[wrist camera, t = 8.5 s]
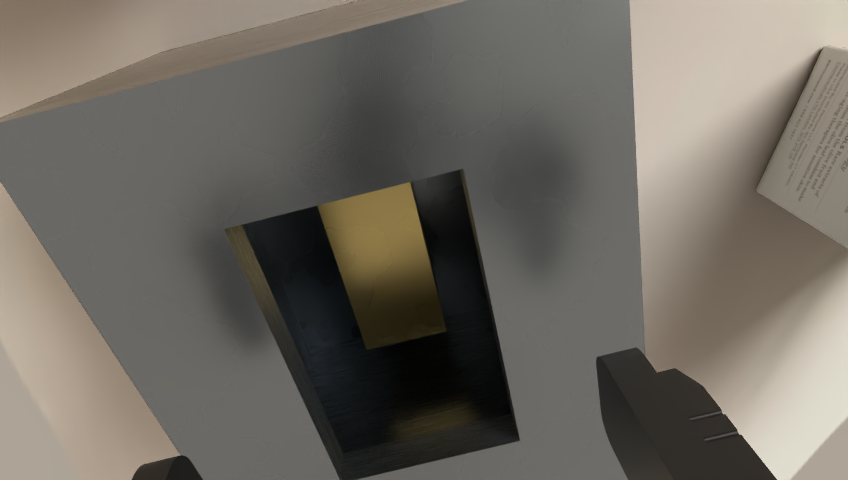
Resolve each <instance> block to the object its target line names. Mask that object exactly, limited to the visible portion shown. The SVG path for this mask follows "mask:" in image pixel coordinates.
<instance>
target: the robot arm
mask: <svg viewBox="0 0 848 480" xmlns="http://www.w3.org/2000/svg"><path fill="white" fill-rule="evenodd" d="M596 369H597V378H598V388H599V398H600V408H601V416H602V421H603V424H604V428H605V431H606V434H607V437H608V440H609V442H610V444H611V447H612V449H613V451H614V453H615V455H616V457H617V459H618V461H619V463H620V465H621V467H622V469H623V471H624V473H625V475H626V477H627V479H628V480H777V479H776V478H775V477H774V475H773V474H772V473H771V472H770V470H769V469H768V468H767V467H766V465H765V464H764V463H763V462H762V460H761V459H760V458H759V456H758V455H757V454H756V453H755V451H754V450H753V449H752V448H751V446H750V445H749V444H748V443H747V441H746V440H745V439H744V438H743V436H742V435H739V434H738V431H737V429H736V427H735V426H734V425H733V424H732V422H731V421H730V420H729V419H728V417H727V416H726V415H723V413H722V411H721V409H720V407H719V406H718V405H717V404H716V402H715V401H714V400H713V398H712V397H711V396H710V395H709V393H708V392H707V391H706V390H705V388H704V387H703V386H702V385H700V384H699V383H697V382H696V381H694V380H693V379H691V378H689V377H688V376H686V375H685V374H683V373H682V372H680V371H679V370H677V369H671V370H666V371H662V372H658V373H657V372H656V371H655V370H654V368H653V367H652V365H651V364H650V362H649V361H648V360H647V358H646V357H645V355H644V354H643V353H642V351H641V350H640V349H638V348H636V347H635V348H631V349H627V350H623V351H618V352H614V353H610V354H606V355H602V356H598V357H597V358H596ZM132 480H203V479H202V477H201V476H200V474H199V473H198V471H197V470H196V468H195V467H194V465H193V463H192V462H191V461H190V459H189V458H188V457H186V456H183V455H181V456H177V457H172V458H168V459H164V460H160V461H156V462H152V463H148V464H144V465H142V466H140V467H139V468H138V470H137V471H136V472H135V474H134V476H133V478H132Z"/></svg>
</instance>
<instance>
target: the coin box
mask: <svg viewBox="0 0 848 480" xmlns="http://www.w3.org/2000/svg"><path fill="white" fill-rule="evenodd" d="M0 181H1V183H2V184H3V186H4V187H5V189H6V190H7V192H8V193H9V195H10V196H11V198H12V199H13V201H14V203H15V204H16V206H17V207H18V209H19V210H20V212H21V213H22V215H23V216H24V218H25V219H26V221H27V222H28V224H29V225H30V227H31V228H32V230H33V231H34V233H35V234H36V236H37V238H38V239H39V241H40V242H41V244H42V245H43V247H44V248H45V250H46V251H47V253H48V254H49V256H50V257H51V259H52V260H53V262H54V263H55V265H56V266H57V268H58V269H59V271H60V272H61V274H62V276H63V277H64V279H65V280H66V282H67V283H68V285H69V286H70V288H71V289H72V291H73V292H74V294H75V295H76V297H77V298H78V300H79V301H80V303H81V304H82V306H83V307H84V309H85V311H86V312H87V314H88V315H89V317H90V318H91V320H92V321H93V323H94V324H95V326H96V327H97V329H98V330H99V332H100V333H101V335H102V336H103V338H104V339H105V341H106V342H107V344H108V345H109V347H110V349H111V350H112V352H113V353H114V355H115V356H116V358H117V359H118V361H119V362H120V364H121V365H122V367H123V368H124V370H125V371H126V373H127V374H128V376H129V377H130V379H131V380H132V382H133V384H134V385H135V387H136V388H137V390H138V391H139V393H140V394H141V396H142V397H143V399H144V400H145V402H146V403H147V405H148V406H149V408H150V409H151V411H152V412H153V414H154V415H155V417H156V418H157V420H158V422H159V423H160V425H161V426H162V428H163V429H164V431H165V432H166V434H167V435H168V437H169V438H170V440H171V441H172V443H173V444H174V446H175V447H176V449H177V450H178V452H179V453H180V455H183V456H186V457H188V458H189V459H190V461H191V462H192V463H193V465H194V467H195V468H196V470H197V471H198V473H199V474H200V476H201V477H202V479H203V480H628V479H627V477H626V475H625V473H624V471H623V469H622V467H621V465H620V463H619V461H618V459H617V457H616V455H615V453H614V451H613V449H612V447H611V444H610V442H609V440H608V437H607V434H606V431H605V428H604V424H603V421H602V416H601V408H600V398H599V388H598V378H597V369H596V358H597V357H598V356H602V355H606V354H610V353H614V352H618V351H623V350H627V349H631V348H635V347H636V348H638V349H640V350H641V351H642V353H643V354H644V355H645V347H644V325H643V302H642V279H641V257H640V234H639V211H638V188H637V166H636V143H635V120H634V97H633V75H632V52H631V29H630V6H629V0H358V1H355V2H351V3H347V4H343V5H339V6H336V7H332V8H328V9H324V10H320V11H317V12H313V13H309V14H305V15H301V16H298V17H294V18H290V19H286V20H282V21H279V22H275V23H271V24H267V25H263V26H260V27H256V28H252V29H248V30H244V31H241V32H237V33H233V34H229V35H225V36H221V37H218V38H214V39H210V40H206V41H202V42H199V43H195V44H191V45H187V46H183V47H180V48H176V49H172V50H168V51H164V52H161V53H159V54H156V55H154V56H152V57H149V58H147V59H144V60H142V61H139V62H137V63H134V64H132V65H129V66H127V67H124V68H122V69H119V70H117V71H115V72H112V73H110V74H107V75H105V76H102V77H100V78H97V79H95V80H92V81H90V82H87V83H85V84H82V85H80V86H78V87H75V88H73V89H70V90H68V91H65V92H63V93H60V94H58V95H55V96H53V97H50V98H48V99H45V100H43V101H41V102H38V103H36V104H33V105H31V106H28V107H26V108H23V109H21V110H18V111H16V112H13V113H11V114H9V115H6V116H4V117H1V118H0ZM409 182H412V183H413V188H414V192H415V196H416V200H417V204H418V208H419V212H420V216H421V220H422V224H423V228H424V233H425V237H426V241H427V245H428V249H429V253H430V257H431V261H432V265H433V269H434V274H435V278H436V282H437V287H438V291H439V296H440V301H441V306H442V311H443V315H444V320H445V325H446V330H447V331H446V332H441V333H437V334H433V335H428V336H424V337H420V338H415V339H411V340H407V341H402V342H398V343H394V344H389V345H385V346H381V347H376V348H372V349H368V350H367V349H366V346H365V343H364V340H363V338H362V335H361V332H360V329H359V326H358V323H357V320H356V317H355V314H354V311H353V308H352V306H351V303H350V300H349V297H348V294H347V291H346V288H345V285H344V282H343V279H342V276H341V273H340V271H339V268H338V265H337V262H336V259H335V256H334V253H333V250H332V247H331V244H330V241H329V239H328V236H327V233H326V230H325V227H324V224H323V221H322V218H321V215H320V212H319V209H318V205H322V204H326V203H330V202H334V201H338V200H341V199H345V198H349V197H353V196H357V195H361V194H365V193H369V192H373V191H377V190H381V189H385V188H389V187H393V186H397V185H401V184H405V183H409Z"/></svg>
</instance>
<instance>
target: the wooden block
mask: <svg viewBox="0 0 848 480" xmlns="http://www.w3.org/2000/svg"><path fill="white" fill-rule="evenodd" d="M318 209H319V212H320V215H321V218H322V221H323V224H324V227H325V230H326V233H327V236H328V239H329V241H330V244H331V247H332V250H333V253H334V256H335V259H336V262H337V265H338V268H339V271H340V273H341V276H342V279H343V282H344V285H345V288H346V291H347V294H348V297H349V300H350V303H351V306H352V308H353V311H354V314H355V317H356V320H357V323H358V326H359V329H360V332H361V335H362V338H363V340H364V343H365V346H366V349H367V350H368V349H372V348H376V347H381V346H385V345H389V344H394V343H398V342H402V341H407V340H411V339H415V338H420V337H424V336H428V335H433V334H437V333H441V332H446V331H447V330H446V325H445V320H444V315H443V311H442V306H441V301H440V296H439V291H438V287H437V282H436V278H435V274H434V269H433V265H432V261H431V257H430V253H429V249H428V245H427V241H426V237H425V233H424V228H423V224H422V220H421V216H420V212H419V208H418V204H417V200H416V196H415V192H414V188H413V183H412V182H409V183H405V184H401V185H397V186H393V187H389V188H385V189H381V190H377V191H373V192H369V193H365V194H361V195H357V196H353V197H349V198H345V199H341V200H338V201H334V202H330V203H326V204H322V205H318Z"/></svg>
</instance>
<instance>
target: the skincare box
mask: <svg viewBox="0 0 848 480" xmlns="http://www.w3.org/2000/svg"><path fill="white" fill-rule="evenodd" d="M756 191H757V193H759V194H761V195H763V196H764V197H766V198H767V199H769V200H771V201H772V202H774V203H775V204H777V205H779V206H780V207H782V208H784V209H785V210H787V211H788V212H790V213H791V214H793V215H794V216H796V217H798V218H799V219H801V220H803V221H804V222H806V223H807V224H809V225H811V226H812V227H814V228H816V229H817V230H819V231H820V232H822V233H823V234H825V235H826V236H828V237H830V238H831V239H833V240H834V241H836V242H837V243H839V244H840V245H842V246H843V247H845V248H847V249H848V48H842V47H837V46H831V45H830V46H826V47H824V48H823V49H822V51H821V53H820V55H819V57H818V60H817V62H816V64H815V66H814V68H813V70H812V73H811V75H810V77H809V79H808V81H807V83H806V85H805V87H804V90H803V92H802V94H801V96H800V98H799V100H798V102H797V104H796V107H795V109H794V111H793V113H792V115H791V117H790V119H789V121H788V123H787V126H786V128H785V130H784V132H783V134H782V136H781V138H780V140H779V142H778V145H777V147H776V149H775V151H774V153H773V155H772V157H771V159H770V161H769V163H768V166H767V168H766V170H765V172H764V174H763V176H762V178H761V180H760V182H759V184H758V186H757V190H756Z"/></svg>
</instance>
